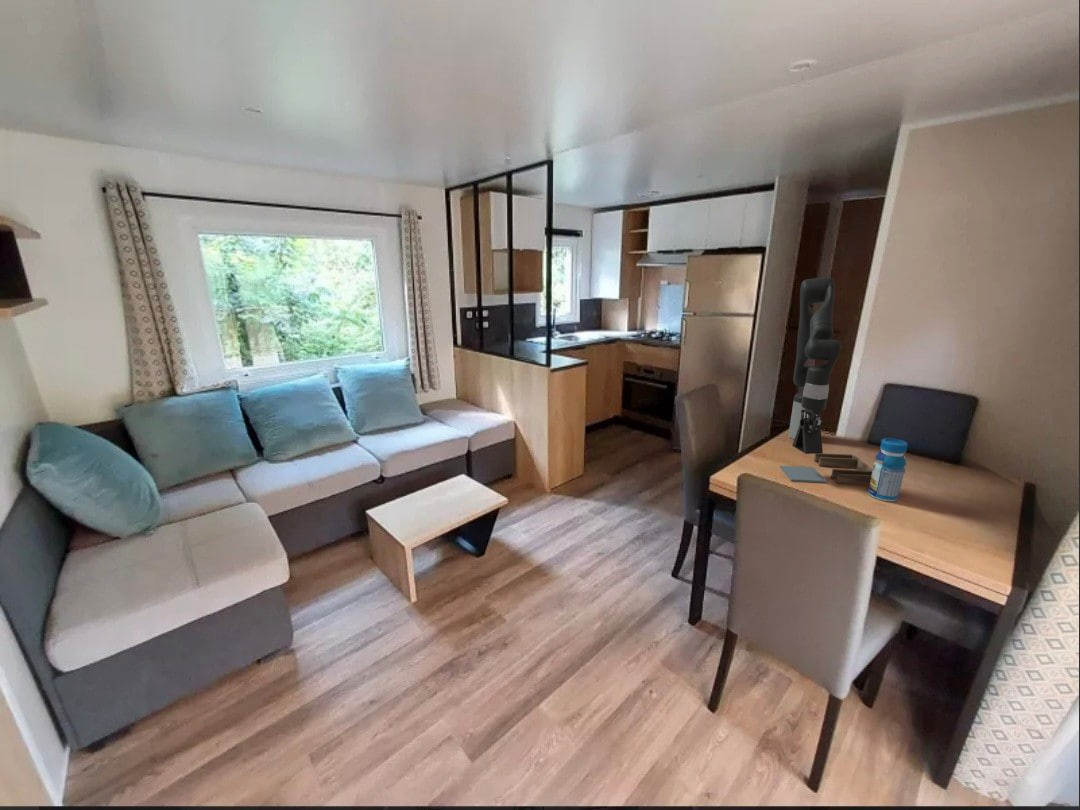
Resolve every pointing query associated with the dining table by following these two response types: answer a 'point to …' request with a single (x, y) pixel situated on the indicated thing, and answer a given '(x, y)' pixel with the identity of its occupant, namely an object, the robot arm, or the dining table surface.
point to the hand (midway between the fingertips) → (807, 440)
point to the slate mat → (803, 474)
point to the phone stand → (807, 439)
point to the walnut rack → (849, 461)
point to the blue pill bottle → (888, 470)
